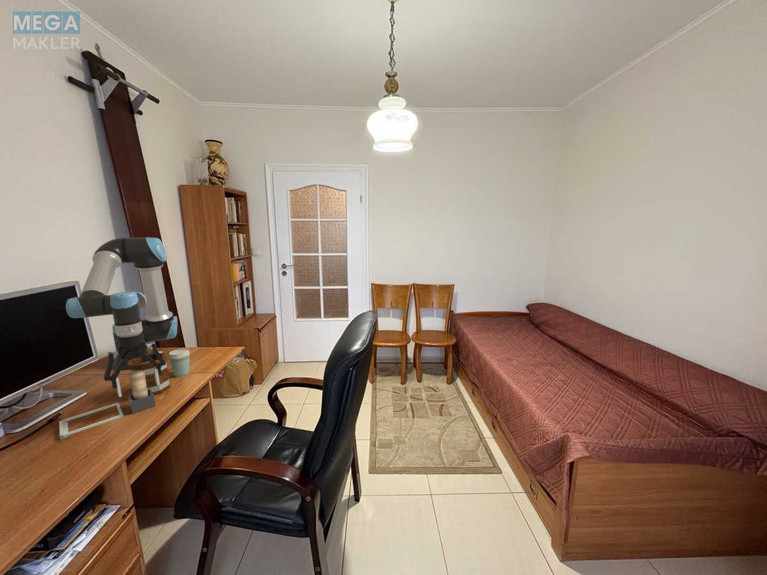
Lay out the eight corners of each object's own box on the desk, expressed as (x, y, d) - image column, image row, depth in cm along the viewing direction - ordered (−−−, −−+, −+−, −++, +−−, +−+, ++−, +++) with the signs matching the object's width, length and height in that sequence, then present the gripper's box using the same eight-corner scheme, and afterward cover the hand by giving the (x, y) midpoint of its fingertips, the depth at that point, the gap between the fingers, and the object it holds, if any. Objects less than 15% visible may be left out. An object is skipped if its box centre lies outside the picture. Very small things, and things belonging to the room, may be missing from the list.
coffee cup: (196, 371, 147) (193, 348, 145) (183, 380, 139) (180, 355, 137) (180, 371, 148) (177, 347, 146) (166, 379, 140) (162, 355, 138)
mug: (164, 397, 125) (159, 363, 122) (125, 402, 121) (119, 367, 118) (181, 375, 143) (177, 345, 141) (148, 379, 140) (143, 348, 137)
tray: (60, 424, 108) (59, 421, 108) (118, 405, 119) (118, 402, 119) (60, 440, 100) (59, 436, 100) (123, 418, 111) (123, 414, 111)
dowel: (134, 406, 117) (128, 372, 114) (148, 402, 120) (142, 369, 118) (136, 411, 114) (130, 376, 111) (150, 406, 117) (145, 372, 115)
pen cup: (130, 408, 117) (127, 395, 116) (151, 401, 122) (149, 388, 121) (133, 415, 113) (130, 402, 112) (155, 408, 117) (153, 395, 116)
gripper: (87, 345, 101) (99, 406, 105) (170, 328, 117) (178, 381, 122) (85, 340, 106) (97, 398, 110) (165, 324, 122) (173, 375, 127)
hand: (139, 389), depth 116 cm, fingers open, 11 cm apart
